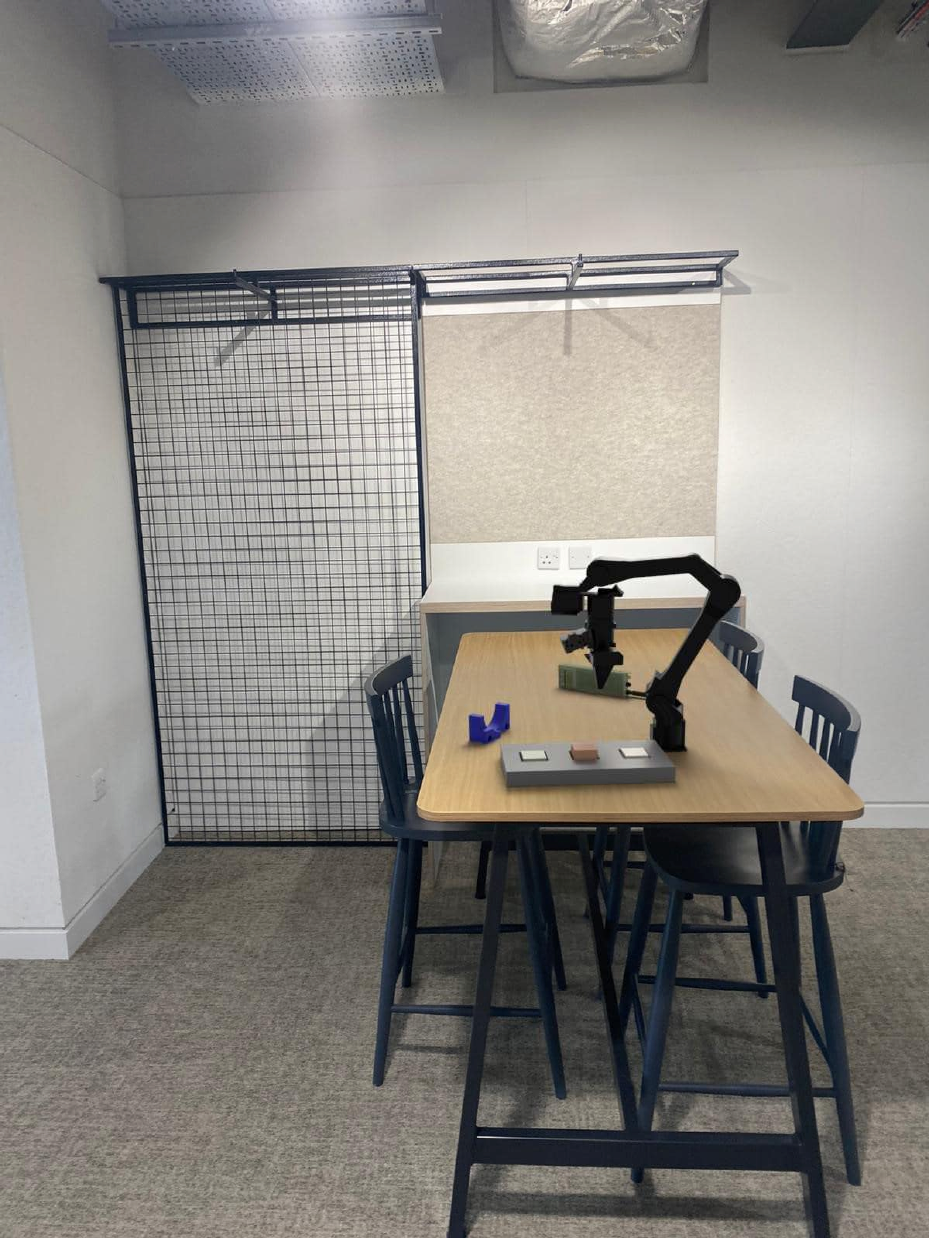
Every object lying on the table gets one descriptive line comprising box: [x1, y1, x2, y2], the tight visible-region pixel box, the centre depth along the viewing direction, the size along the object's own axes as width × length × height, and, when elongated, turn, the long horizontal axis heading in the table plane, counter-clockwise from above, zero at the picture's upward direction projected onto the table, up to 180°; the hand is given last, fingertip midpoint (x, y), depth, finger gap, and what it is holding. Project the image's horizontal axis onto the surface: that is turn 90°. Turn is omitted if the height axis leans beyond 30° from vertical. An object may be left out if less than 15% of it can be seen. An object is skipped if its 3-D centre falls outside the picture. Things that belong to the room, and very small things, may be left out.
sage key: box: [521, 751, 546, 762], centre depth 170 cm, size 4×4×2 cm
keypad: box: [499, 739, 677, 788], centre depth 170 cm, size 32×16×3 cm, turn 92°
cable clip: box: [468, 701, 511, 745], centre depth 193 cm, size 12×4×6 cm, turn 145°
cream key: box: [621, 748, 649, 759], centre depth 171 cm, size 4×4×2 cm
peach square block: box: [571, 741, 598, 760], centre depth 170 cm, size 4×4×2 cm
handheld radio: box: [557, 662, 646, 698], centre depth 226 cm, size 7×3×25 cm
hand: (599, 688), depth 184 cm, fingers closed
